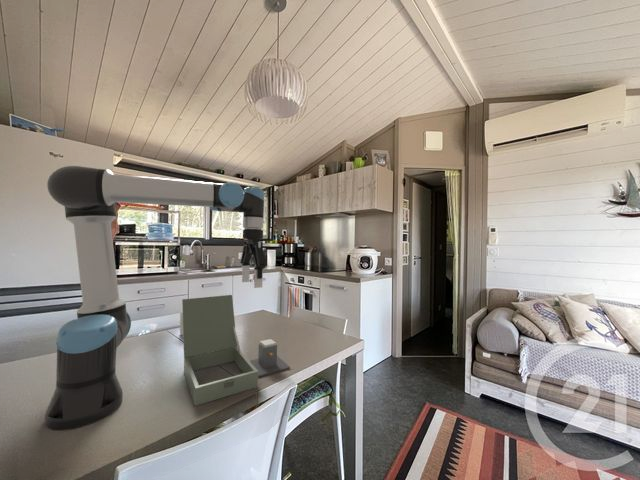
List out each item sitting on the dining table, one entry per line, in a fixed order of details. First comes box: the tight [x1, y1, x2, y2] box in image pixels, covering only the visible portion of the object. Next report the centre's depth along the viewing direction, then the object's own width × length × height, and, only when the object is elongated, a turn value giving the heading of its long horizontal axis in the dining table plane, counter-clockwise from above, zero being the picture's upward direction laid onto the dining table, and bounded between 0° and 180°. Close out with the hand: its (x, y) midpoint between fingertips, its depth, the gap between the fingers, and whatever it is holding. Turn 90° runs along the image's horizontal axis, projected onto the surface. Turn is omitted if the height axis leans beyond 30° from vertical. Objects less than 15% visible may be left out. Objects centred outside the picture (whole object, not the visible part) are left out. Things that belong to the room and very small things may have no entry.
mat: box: [249, 355, 291, 379], centre depth 96 cm, size 12×12×1 cm
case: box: [181, 294, 259, 407], centre depth 89 cm, size 18×31×23 cm, turn 35°
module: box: [257, 338, 278, 368], centre depth 96 cm, size 5×5×8 cm
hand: (251, 284), depth 100 cm, fingers open, 13 cm apart
